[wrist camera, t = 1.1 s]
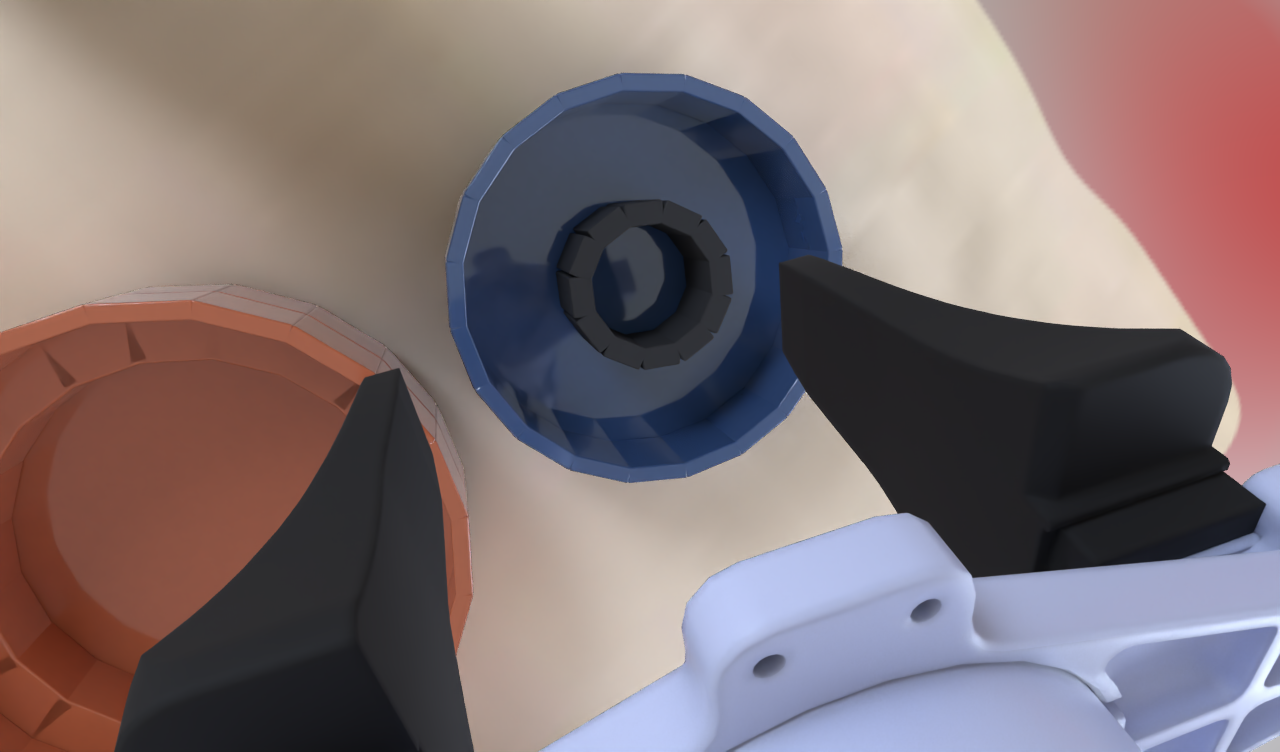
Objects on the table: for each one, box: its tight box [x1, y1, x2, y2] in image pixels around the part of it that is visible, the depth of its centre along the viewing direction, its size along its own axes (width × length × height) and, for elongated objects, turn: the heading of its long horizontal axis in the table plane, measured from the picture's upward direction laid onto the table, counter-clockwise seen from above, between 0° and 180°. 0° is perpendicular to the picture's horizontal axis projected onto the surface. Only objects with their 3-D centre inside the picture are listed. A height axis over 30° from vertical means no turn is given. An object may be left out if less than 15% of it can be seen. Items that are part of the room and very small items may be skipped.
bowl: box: [0, 284, 473, 752], centre depth 24 cm, size 15×15×5 cm
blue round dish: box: [445, 73, 843, 483], centre depth 26 cm, size 12×12×4 cm
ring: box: [556, 199, 733, 370], centre depth 26 cm, size 5×5×3 cm
